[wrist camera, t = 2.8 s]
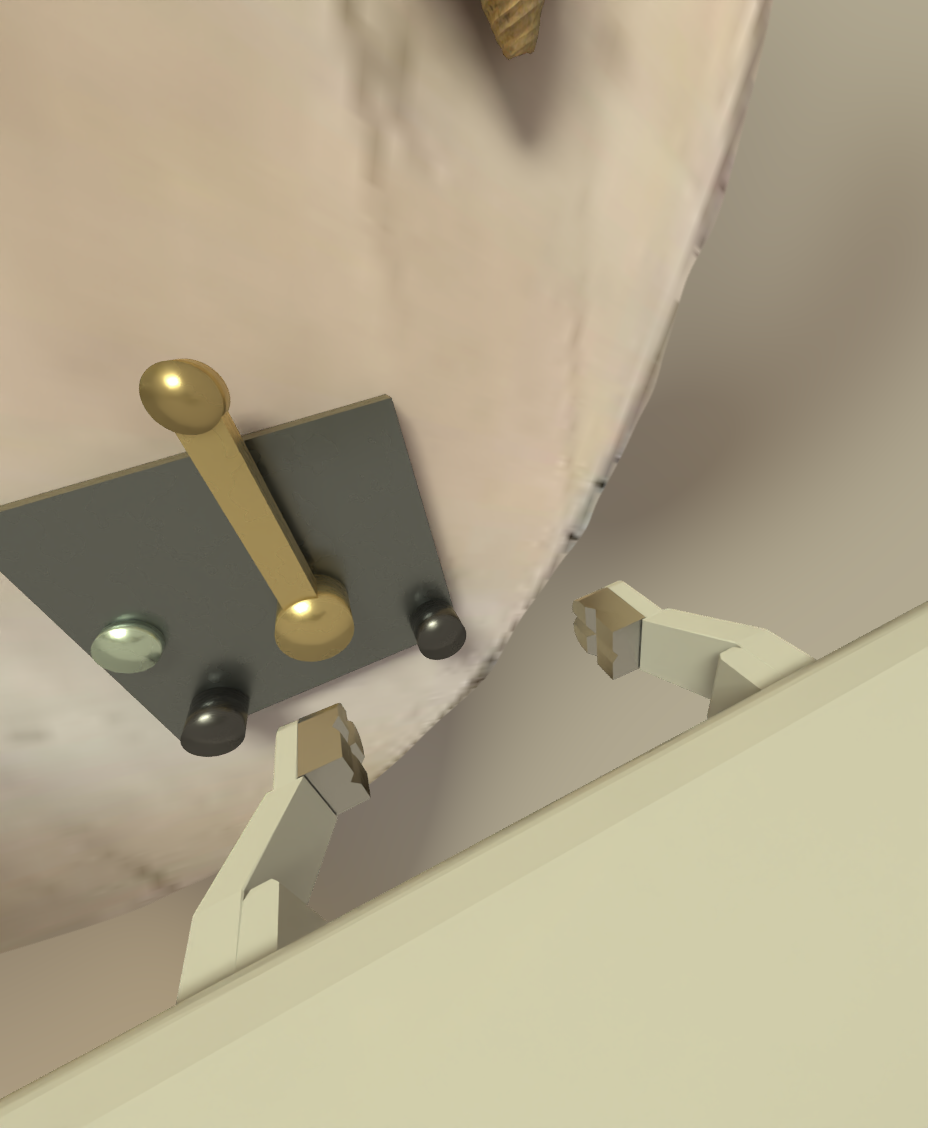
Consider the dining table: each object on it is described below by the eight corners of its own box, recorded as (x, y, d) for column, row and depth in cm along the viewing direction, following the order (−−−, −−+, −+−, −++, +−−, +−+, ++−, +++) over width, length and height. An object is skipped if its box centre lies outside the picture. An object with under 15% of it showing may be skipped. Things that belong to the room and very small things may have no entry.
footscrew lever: (358, 615, 31) (364, 643, 28) (295, 639, 30) (295, 672, 27) (230, 346, 21) (218, 347, 18) (128, 371, 20) (98, 377, 17)
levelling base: (-23, 512, 22) (-96, 551, 18) (385, 394, 26) (401, 403, 22) (188, 722, 33) (172, 776, 29) (451, 614, 37) (470, 647, 33)
